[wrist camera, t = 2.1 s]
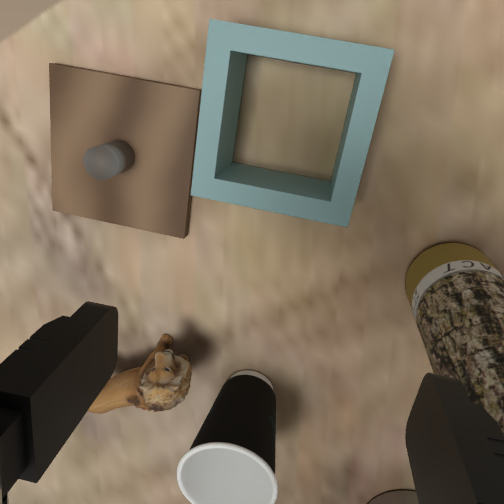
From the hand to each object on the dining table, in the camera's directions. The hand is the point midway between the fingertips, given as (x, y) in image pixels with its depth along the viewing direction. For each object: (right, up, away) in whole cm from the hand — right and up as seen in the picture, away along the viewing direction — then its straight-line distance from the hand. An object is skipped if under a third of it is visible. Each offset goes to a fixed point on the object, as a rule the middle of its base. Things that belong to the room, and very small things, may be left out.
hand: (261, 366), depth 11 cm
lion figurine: (-10, -7, +33) cm, 35 cm away
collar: (+3, +13, +22) cm, 26 cm away
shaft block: (-11, +11, +25) cm, 29 cm away
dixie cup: (0, -11, +32) cm, 34 cm away
